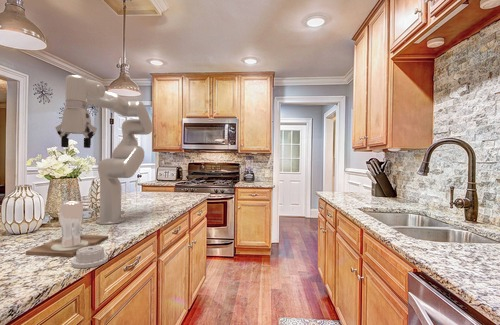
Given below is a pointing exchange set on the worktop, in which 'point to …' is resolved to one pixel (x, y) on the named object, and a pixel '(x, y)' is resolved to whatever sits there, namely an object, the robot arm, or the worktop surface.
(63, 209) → the beer glass
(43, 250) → the carrier plate
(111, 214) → the robot arm
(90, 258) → the mechanical component
